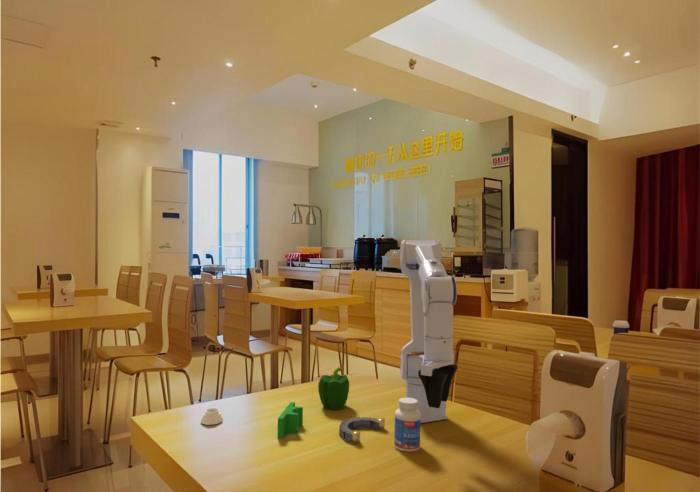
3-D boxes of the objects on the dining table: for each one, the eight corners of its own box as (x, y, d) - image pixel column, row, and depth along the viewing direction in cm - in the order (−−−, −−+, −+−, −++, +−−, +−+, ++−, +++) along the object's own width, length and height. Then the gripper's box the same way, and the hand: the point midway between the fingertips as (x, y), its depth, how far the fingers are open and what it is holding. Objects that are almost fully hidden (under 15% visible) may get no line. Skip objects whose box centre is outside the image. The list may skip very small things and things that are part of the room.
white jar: (224, 424, 109) (220, 417, 114) (224, 411, 109) (221, 405, 114) (202, 427, 107) (199, 420, 111) (202, 415, 107) (199, 408, 111)
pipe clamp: (294, 440, 100) (294, 419, 100) (277, 439, 101) (277, 418, 101) (305, 421, 112) (305, 402, 112) (290, 420, 112) (290, 401, 112)
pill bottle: (403, 454, 93) (404, 405, 93) (389, 444, 98) (389, 398, 98) (425, 449, 96) (426, 402, 96) (410, 439, 101) (411, 394, 101)
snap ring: (386, 428, 107) (386, 419, 107) (356, 445, 98) (356, 434, 98) (359, 421, 111) (359, 411, 112) (328, 436, 102) (329, 426, 102)
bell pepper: (327, 414, 116) (327, 374, 116) (313, 404, 123) (313, 367, 123) (356, 409, 120) (356, 370, 120) (340, 400, 127) (341, 363, 127)
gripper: (431, 329, 101) (431, 391, 101) (406, 339, 89) (405, 410, 89) (463, 332, 98) (463, 396, 98) (441, 343, 85) (441, 417, 85)
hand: (438, 403), depth 93 cm, fingers open, 4 cm apart
